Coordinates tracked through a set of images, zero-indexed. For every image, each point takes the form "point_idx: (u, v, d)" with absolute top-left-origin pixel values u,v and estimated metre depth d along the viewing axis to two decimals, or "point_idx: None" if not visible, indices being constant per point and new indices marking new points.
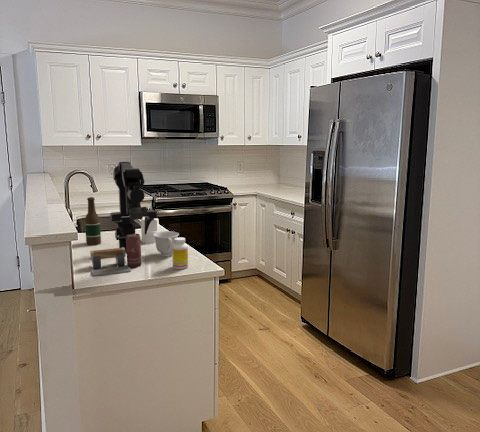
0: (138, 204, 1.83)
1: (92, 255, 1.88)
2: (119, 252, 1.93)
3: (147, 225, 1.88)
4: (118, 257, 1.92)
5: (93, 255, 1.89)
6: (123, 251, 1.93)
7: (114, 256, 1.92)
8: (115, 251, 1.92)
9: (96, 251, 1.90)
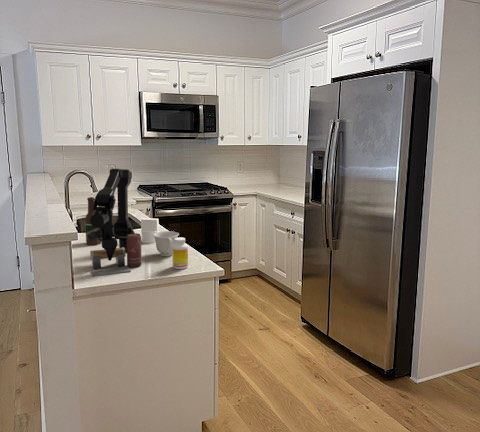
0: (99, 228, 1.87)
1: (92, 255, 1.88)
2: (119, 252, 1.93)
3: (106, 251, 1.87)
4: (118, 257, 1.92)
5: (93, 255, 1.89)
6: (123, 251, 1.93)
7: (114, 256, 1.92)
8: (115, 251, 1.92)
9: (96, 251, 1.90)
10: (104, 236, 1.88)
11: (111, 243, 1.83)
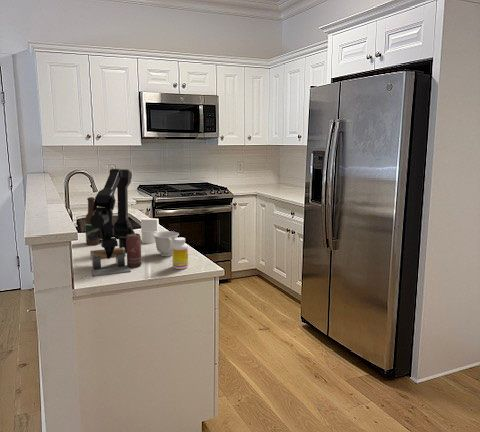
0: (99, 228, 1.87)
1: (92, 255, 1.88)
2: (119, 252, 1.93)
3: (105, 250, 1.89)
4: (118, 257, 1.92)
5: (93, 255, 1.89)
6: (123, 251, 1.93)
7: (114, 256, 1.92)
8: (115, 251, 1.92)
9: (96, 251, 1.90)
10: (104, 236, 1.88)
11: (111, 243, 1.83)
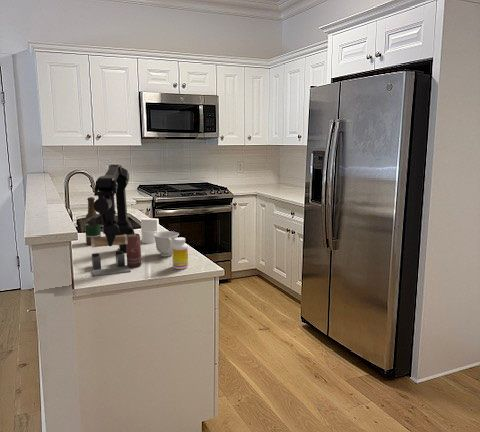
0: (100, 214, 1.79)
1: (93, 242, 1.80)
2: (121, 239, 1.84)
3: None
4: (118, 257, 1.92)
5: (94, 242, 1.80)
6: (125, 238, 1.85)
7: (116, 243, 1.83)
8: (117, 238, 1.83)
9: (97, 238, 1.81)
10: (105, 222, 1.79)
11: (113, 230, 1.74)
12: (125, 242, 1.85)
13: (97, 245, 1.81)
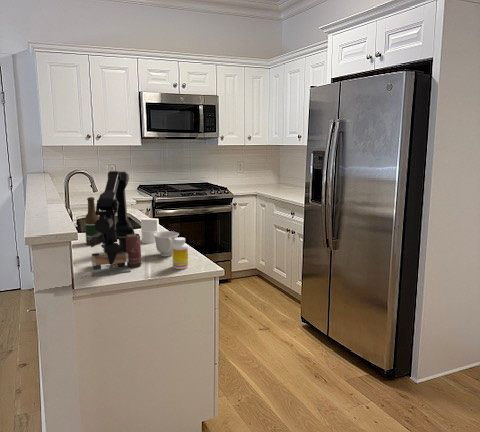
0: (101, 233, 1.80)
1: (94, 261, 1.81)
2: (122, 257, 1.86)
3: None
4: None
5: (95, 261, 1.81)
6: (126, 256, 1.86)
7: (117, 261, 1.85)
8: (118, 256, 1.85)
9: (98, 256, 1.83)
10: (106, 241, 1.81)
11: (114, 249, 1.76)
12: (126, 260, 1.87)
13: (98, 263, 1.82)
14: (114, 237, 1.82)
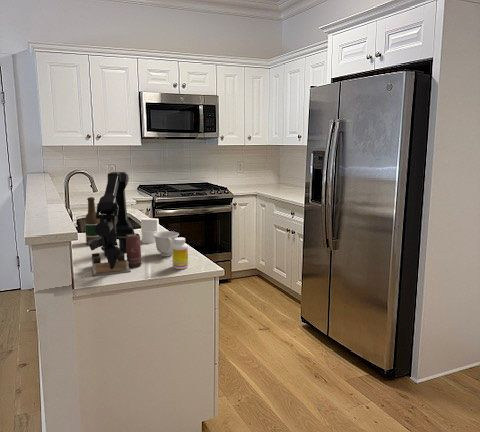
0: (101, 236, 1.81)
1: (94, 268, 1.82)
2: (123, 265, 1.86)
3: (108, 260, 1.81)
4: (118, 257, 1.92)
5: (95, 269, 1.82)
6: (126, 264, 1.87)
7: (117, 269, 1.86)
8: (118, 264, 1.85)
9: (98, 264, 1.84)
10: (107, 245, 1.81)
11: (114, 252, 1.76)
12: (126, 268, 1.87)
13: (99, 271, 1.83)
14: (114, 240, 1.82)
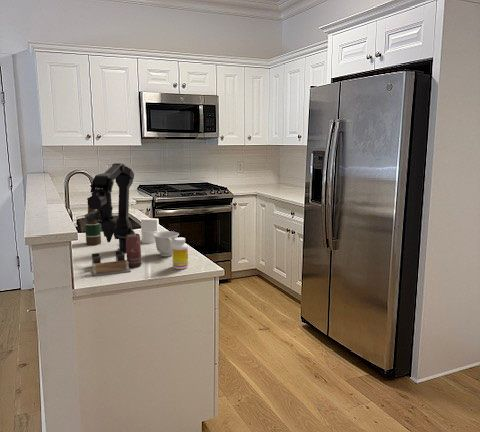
0: (97, 210, 1.88)
1: (94, 268, 1.82)
2: (123, 265, 1.86)
3: (105, 233, 1.87)
4: (118, 257, 1.92)
5: (95, 269, 1.82)
6: (126, 264, 1.87)
7: (117, 269, 1.86)
8: (118, 264, 1.85)
9: (98, 264, 1.84)
10: (103, 218, 1.88)
11: (110, 225, 1.84)
12: (126, 268, 1.87)
13: (99, 271, 1.83)
14: (110, 214, 1.90)
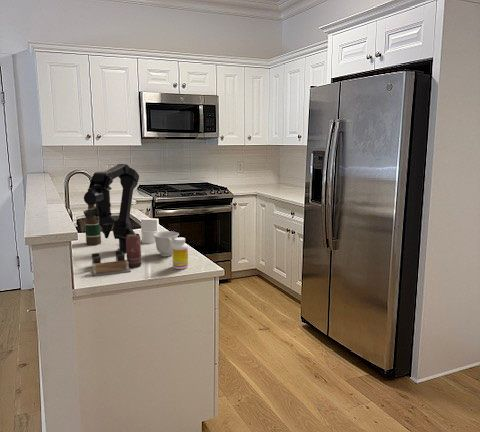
0: (96, 206, 1.92)
1: (94, 268, 1.82)
2: (123, 265, 1.86)
3: (103, 229, 1.91)
4: (118, 257, 1.92)
5: (95, 269, 1.82)
6: (126, 264, 1.87)
7: (117, 269, 1.86)
8: (118, 264, 1.85)
9: (98, 264, 1.84)
10: (101, 214, 1.93)
11: (108, 221, 1.87)
12: (126, 268, 1.87)
13: (99, 271, 1.83)
14: (108, 210, 1.94)
